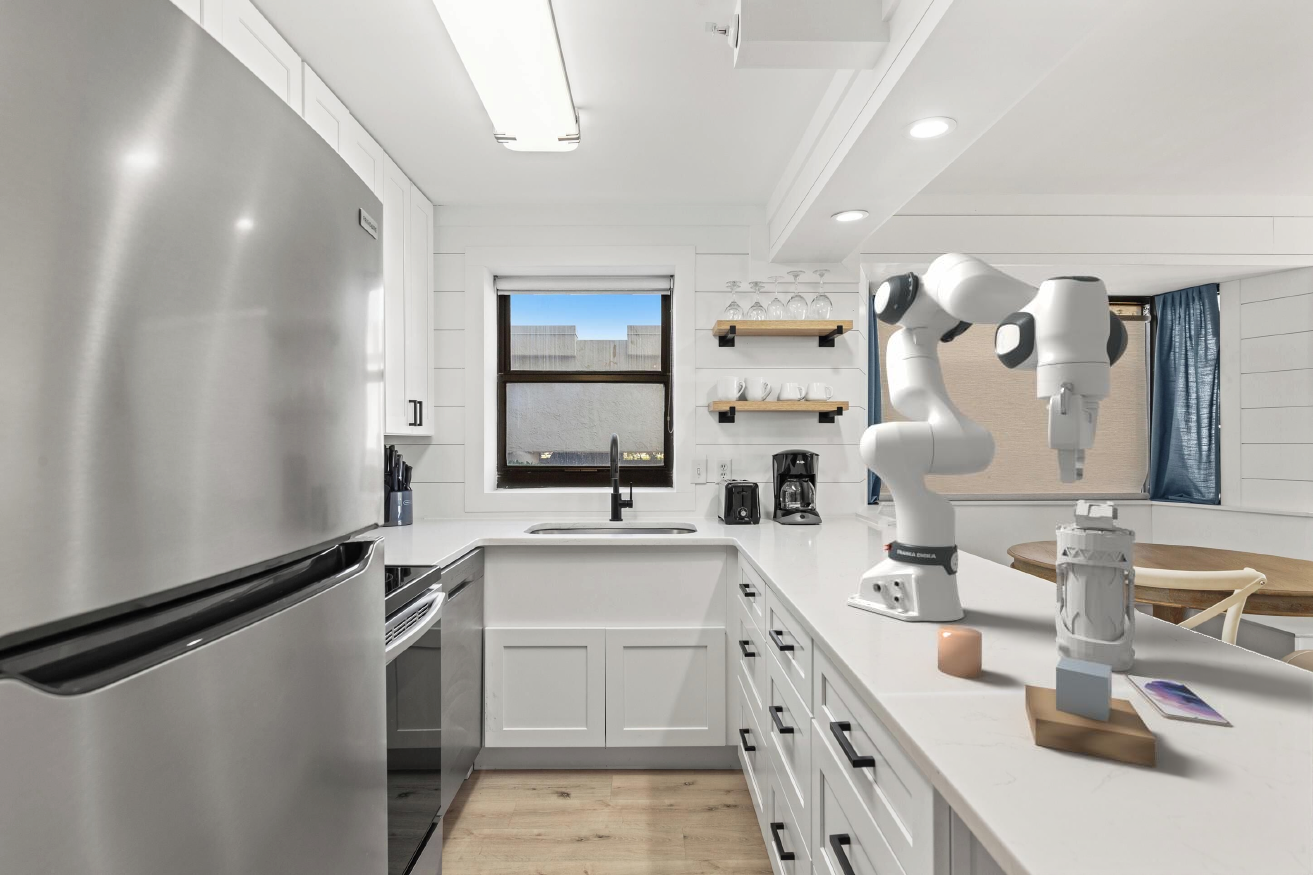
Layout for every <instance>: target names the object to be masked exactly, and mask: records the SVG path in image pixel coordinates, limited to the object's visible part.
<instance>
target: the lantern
mask: <svg viewBox="0 0 1313 875" xmlns="http://www.w3.org/2000/svg"><path fill="white" fill-rule="evenodd" d="M1090 502H1093V500H1090V499H1089V500H1088V499H1087V500H1086V499H1079V500H1078V501H1077V502H1076V505H1074V507H1073V516H1074V518H1075V522H1074V523H1069V524H1067V523H1066V524H1058V525H1056V526H1055V535H1056V560H1055V569H1056V570H1055V572H1056V573H1055V574H1056V604H1055V629H1056V633H1057V636H1056V637H1055V646H1056V651H1057V654H1058V656H1059V658H1061V657H1067V658H1073V659H1078V660H1083V661H1088V662H1093V663H1099V664H1104V665H1109V666H1112V672H1123V671H1129V670H1130V669H1132V666H1133V663H1134V661H1135V657H1136V656H1135V654H1136V650H1135V649H1134V648H1133V644H1134V641H1135V635H1136V614H1135V578H1136V570H1135V569H1134V541H1136V532H1135V530H1132V529H1128V528H1123V527H1117V526H1116V525H1114V524H1113V523H1114V522H1113V520H1118V519H1119V517H1118V515H1119V514H1118V513H1119V512H1118V511H1119V509H1118V507H1115V503H1114V501H1108V500H1107V501H1106V500H1105V501H1104V500H1095V502H1102V503H1090ZM1126 572H1127V573H1126ZM1063 574H1064V577H1063ZM1063 579H1064V580H1063ZM1126 581H1127V582H1128V583H1127V584H1126ZM1063 582H1064V588H1063ZM1126 585H1127V587H1126ZM1126 589H1127V591H1126ZM1126 592H1127V594H1126ZM1126 595H1127V596H1126ZM1063 609H1064V610H1063ZM1062 611H1064V622H1063V619H1062V617H1061V615H1062ZM1126 617H1127V620H1128V623H1129V625H1128V628H1127V629H1126V632H1125V623H1126Z"/></svg>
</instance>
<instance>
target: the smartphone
mask: <svg viewBox="0 0 1313 875" xmlns="http://www.w3.org/2000/svg"><path fill="white" fill-rule="evenodd" d="M1123 678H1124V680H1125V681H1126V682H1128V683H1129V685H1131V687H1132V688H1133V689H1134V690H1135V691H1136V692H1137V693H1138V694H1139V695H1140V696H1141V697H1142V698H1143V699H1144V700H1145V701H1146V702H1147V703H1148V704H1149V705H1150V706H1151V707H1152V708H1153V709H1154V710H1155V712H1157V713H1158V715H1160V716H1161V717H1162V718H1164V719H1168V720H1173V721H1181V722H1187V723H1193V724H1194V723H1196V724H1202V725H1203V724H1204V725H1209V726H1217V727H1224V728H1231V727H1232V723H1231V722H1229V721H1228V720H1227V719H1226V718H1225V717H1223V716H1222V715H1221V714H1220V713H1219V712H1218V711H1216V710H1215V709H1214V708H1213V707H1211V706H1210V704H1208V703H1206V702H1205V701H1204V700H1203V699H1202V698H1201V697H1199V695H1197V694H1196V693H1194V692H1193V691H1192V690H1190V688H1188V687H1187V686H1186V685H1185V684H1183V683H1182V682H1180V681H1175V680H1171V679H1170V680H1169V679H1161V678H1155V677H1154V678H1153V677H1146V676H1140V675H1132V674H1124V677H1123ZM1174 719H1175V720H1174Z"/></svg>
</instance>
